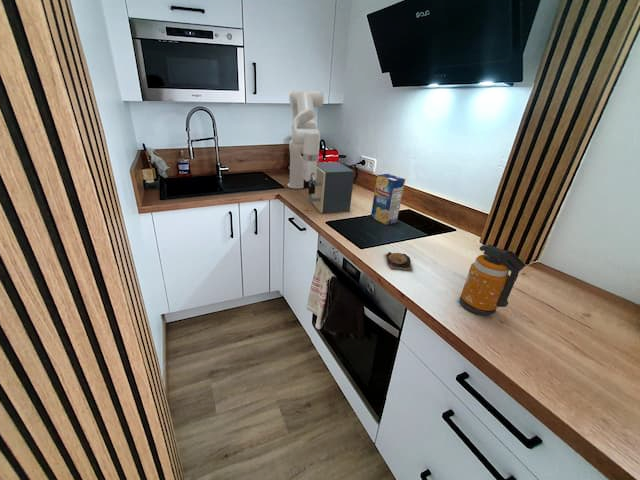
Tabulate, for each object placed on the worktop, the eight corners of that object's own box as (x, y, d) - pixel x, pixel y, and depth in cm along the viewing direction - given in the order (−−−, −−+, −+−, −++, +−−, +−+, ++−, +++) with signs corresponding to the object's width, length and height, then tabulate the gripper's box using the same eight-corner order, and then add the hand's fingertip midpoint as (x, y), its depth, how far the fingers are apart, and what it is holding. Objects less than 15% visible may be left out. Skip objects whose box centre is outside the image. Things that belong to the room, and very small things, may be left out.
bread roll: (413, 272, 101) (415, 263, 99) (388, 269, 102) (390, 260, 101) (407, 256, 111) (409, 248, 109) (384, 254, 112) (386, 246, 110)
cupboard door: (309, 213, 149) (311, 173, 140) (298, 199, 168) (300, 163, 159) (322, 213, 150) (325, 172, 141) (310, 199, 169) (312, 162, 161)
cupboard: (323, 213, 150) (326, 172, 141) (311, 199, 170) (313, 162, 161) (349, 211, 152) (354, 171, 143) (335, 198, 172) (338, 161, 163)
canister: (466, 293, 90) (486, 237, 82) (507, 312, 82) (533, 253, 74) (453, 304, 85) (472, 245, 77) (495, 326, 77) (522, 264, 69)
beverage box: (386, 225, 137) (394, 180, 128) (370, 216, 146) (377, 175, 137) (396, 222, 140) (405, 179, 131) (380, 214, 149) (387, 173, 140)
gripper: (299, 154, 146) (297, 186, 153) (308, 161, 131) (306, 196, 138) (313, 153, 148) (311, 185, 155) (323, 160, 132) (321, 195, 139)
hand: (308, 190), depth 146 cm, fingers open, 9 cm apart
